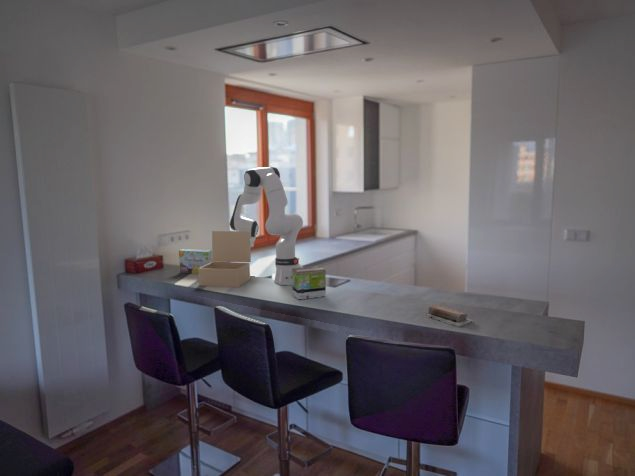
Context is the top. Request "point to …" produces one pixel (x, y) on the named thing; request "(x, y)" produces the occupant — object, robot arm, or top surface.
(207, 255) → the snack box
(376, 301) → the top surface
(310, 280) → the tea box
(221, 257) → the carton lid
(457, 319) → the packaged product
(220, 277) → the carton
